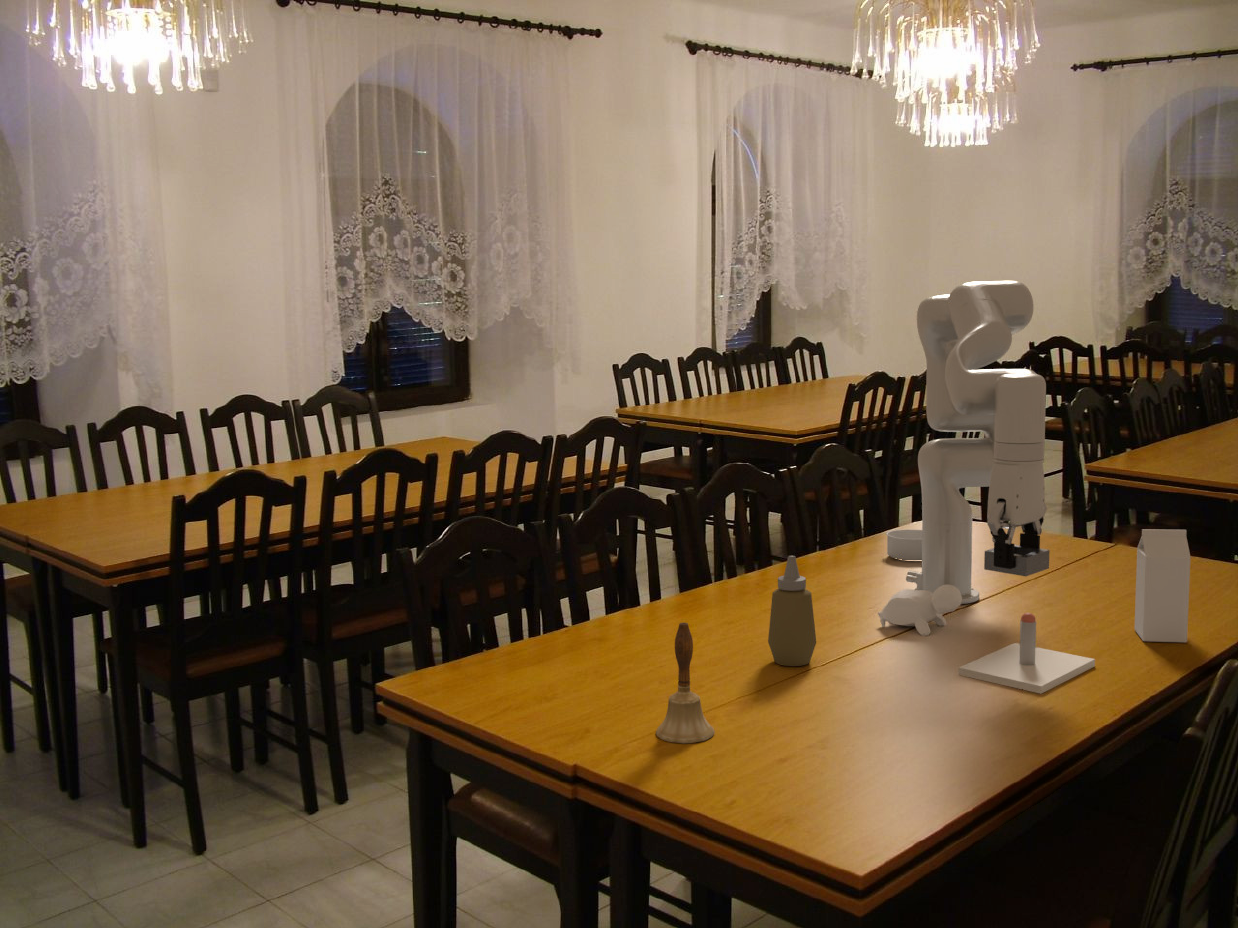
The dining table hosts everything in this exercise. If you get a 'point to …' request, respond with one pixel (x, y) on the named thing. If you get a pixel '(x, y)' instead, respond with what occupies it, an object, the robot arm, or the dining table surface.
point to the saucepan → (905, 544)
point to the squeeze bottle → (792, 619)
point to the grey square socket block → (1021, 561)
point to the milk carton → (1162, 586)
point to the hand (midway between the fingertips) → (1016, 562)
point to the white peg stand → (1027, 663)
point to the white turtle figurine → (921, 607)
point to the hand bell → (684, 700)
